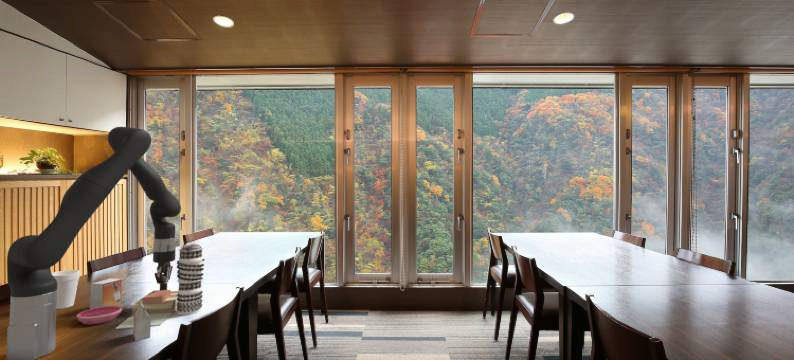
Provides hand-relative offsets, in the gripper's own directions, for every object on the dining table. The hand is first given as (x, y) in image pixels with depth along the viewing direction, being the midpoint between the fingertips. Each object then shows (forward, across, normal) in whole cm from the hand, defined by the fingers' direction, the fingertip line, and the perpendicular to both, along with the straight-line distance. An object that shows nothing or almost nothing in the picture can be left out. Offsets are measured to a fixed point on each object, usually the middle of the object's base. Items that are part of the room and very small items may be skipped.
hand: (163, 292), depth 142 cm
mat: (+5, -17, 0) cm, 18 cm away
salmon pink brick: (+1, -6, 0) cm, 6 cm away
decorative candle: (+5, -9, -12) cm, 16 cm away
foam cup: (+5, +7, +37) cm, 38 cm away
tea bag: (+5, -31, -4) cm, 32 cm away
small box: (+5, +1, +20) cm, 21 cm away
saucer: (+5, -12, +16) cm, 21 cm away
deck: (+5, -3, 0) cm, 6 cm away
